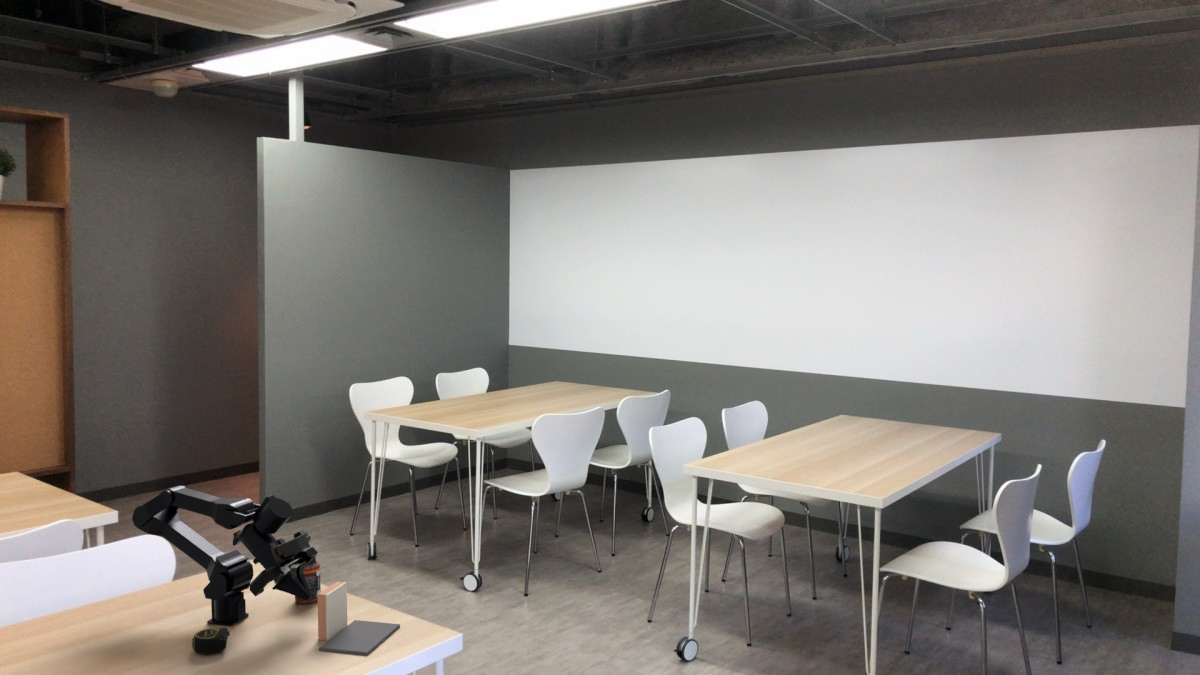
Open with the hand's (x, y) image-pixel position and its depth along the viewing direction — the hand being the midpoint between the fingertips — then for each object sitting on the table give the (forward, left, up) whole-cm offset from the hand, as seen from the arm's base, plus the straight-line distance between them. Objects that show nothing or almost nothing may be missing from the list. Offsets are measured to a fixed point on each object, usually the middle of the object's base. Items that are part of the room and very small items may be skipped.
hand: (309, 598), depth 187 cm
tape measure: (-14, -13, -8) cm, 21 cm away
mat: (+13, -1, -7) cm, 15 cm away
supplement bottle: (-10, +16, -7) cm, 20 cm away
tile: (+6, 0, -7) cm, 9 cm away
